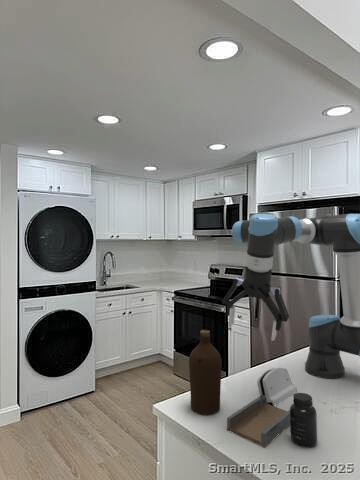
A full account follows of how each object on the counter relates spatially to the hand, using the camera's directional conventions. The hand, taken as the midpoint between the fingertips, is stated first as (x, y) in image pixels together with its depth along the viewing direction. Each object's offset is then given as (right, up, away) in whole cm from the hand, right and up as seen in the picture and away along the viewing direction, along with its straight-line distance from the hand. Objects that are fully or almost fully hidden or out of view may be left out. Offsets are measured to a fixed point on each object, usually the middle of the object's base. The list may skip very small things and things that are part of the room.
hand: (251, 331), depth 103 cm
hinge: (+12, -27, +14) cm, 33 cm away
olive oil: (-14, -27, +6) cm, 30 cm away
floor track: (+3, -26, -4) cm, 27 cm away
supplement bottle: (+11, -26, -13) cm, 31 cm away
